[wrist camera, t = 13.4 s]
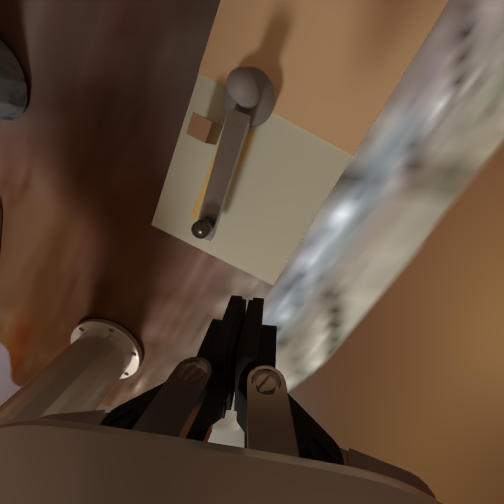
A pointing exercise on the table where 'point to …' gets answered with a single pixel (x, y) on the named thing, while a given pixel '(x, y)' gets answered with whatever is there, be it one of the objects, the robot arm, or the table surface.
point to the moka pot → (11, 85)
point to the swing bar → (222, 174)
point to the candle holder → (0, 219)
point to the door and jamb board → (286, 115)
